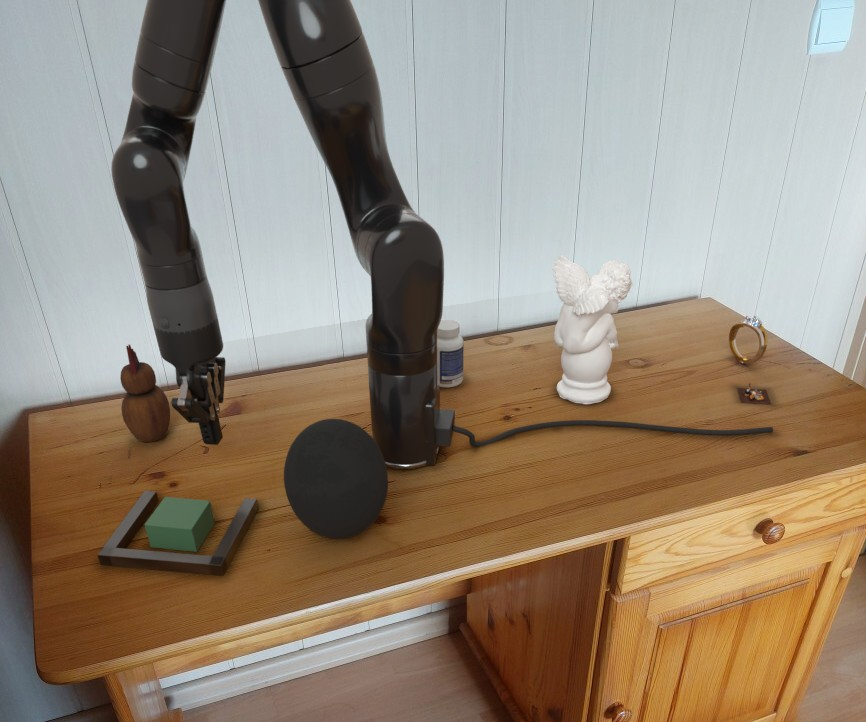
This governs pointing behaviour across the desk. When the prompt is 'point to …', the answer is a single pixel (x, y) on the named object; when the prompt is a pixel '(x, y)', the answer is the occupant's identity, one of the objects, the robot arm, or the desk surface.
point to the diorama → (753, 395)
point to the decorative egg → (335, 478)
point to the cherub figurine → (588, 327)
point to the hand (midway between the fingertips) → (213, 441)
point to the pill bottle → (449, 354)
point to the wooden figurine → (143, 401)
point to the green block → (180, 524)
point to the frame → (166, 561)
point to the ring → (762, 336)
